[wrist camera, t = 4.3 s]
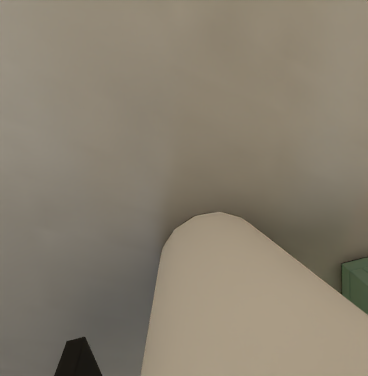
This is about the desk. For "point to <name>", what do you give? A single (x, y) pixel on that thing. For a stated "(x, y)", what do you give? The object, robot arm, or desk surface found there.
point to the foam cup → (246, 309)
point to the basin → (356, 283)
